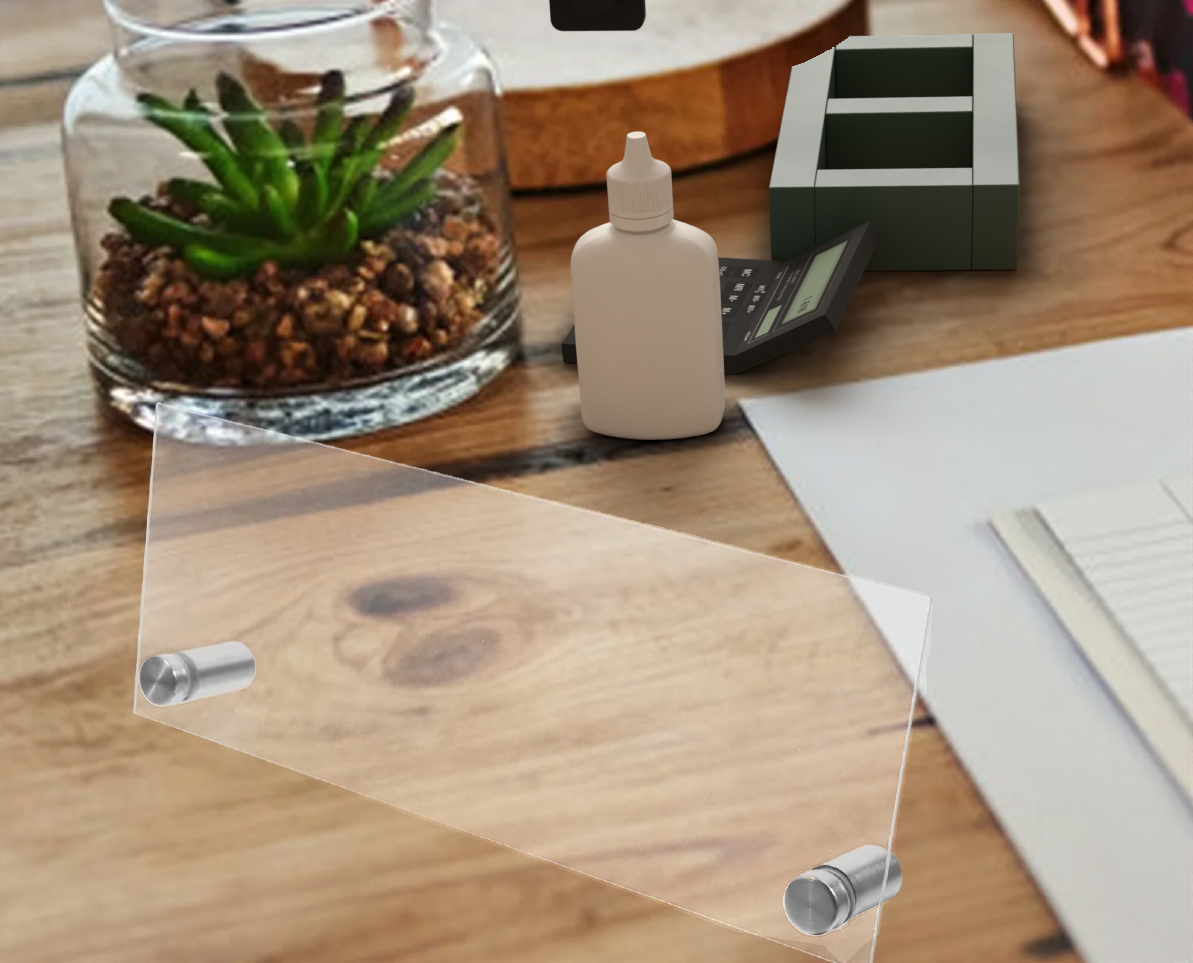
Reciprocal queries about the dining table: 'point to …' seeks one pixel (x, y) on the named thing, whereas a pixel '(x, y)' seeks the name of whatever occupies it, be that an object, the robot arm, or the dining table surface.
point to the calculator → (783, 299)
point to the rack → (902, 152)
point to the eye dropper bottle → (647, 311)
